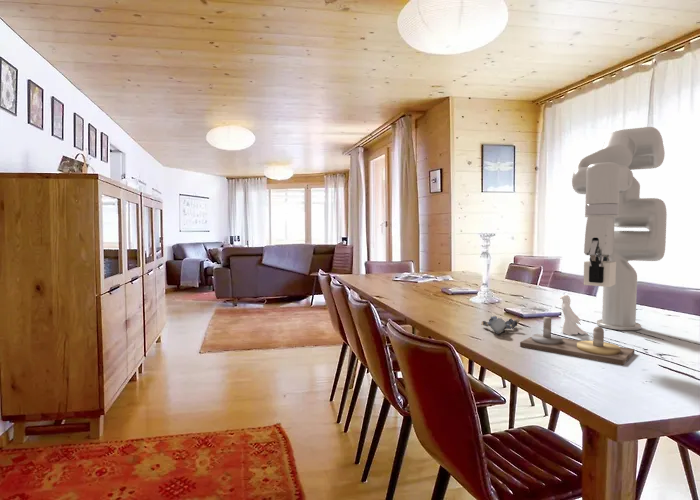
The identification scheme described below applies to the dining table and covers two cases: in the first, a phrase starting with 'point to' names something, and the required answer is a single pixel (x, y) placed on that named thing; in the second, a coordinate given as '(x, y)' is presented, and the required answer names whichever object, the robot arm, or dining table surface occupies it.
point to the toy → (500, 324)
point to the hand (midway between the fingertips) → (599, 280)
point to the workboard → (578, 346)
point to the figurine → (570, 318)
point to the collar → (608, 276)
